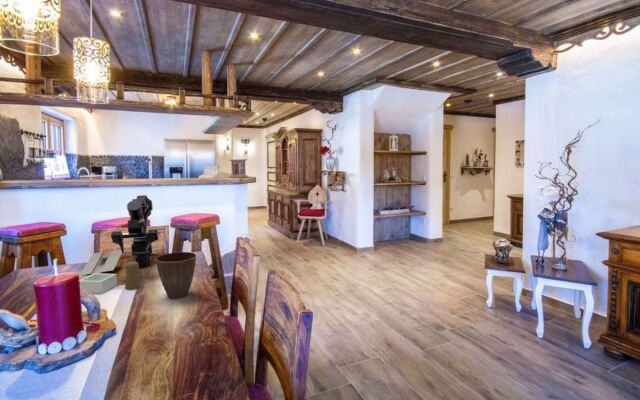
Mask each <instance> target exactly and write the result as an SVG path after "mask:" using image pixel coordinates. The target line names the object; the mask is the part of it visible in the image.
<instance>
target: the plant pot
mask: <svg viewBox="0 0 640 400" xmlns="http://www.w3.org/2000/svg"><path fill="white" fill-rule="evenodd" d="M196 260H197V254H196V253H194V252H188V251H178V252H177V251H175V252H170V253H164V254H160V255H159V256H157V257H156V258H155V264H156V268H157V273H158V276H159V278H160V281H161V284H162V287H163V290H164V292H165V293H166V295H167V297H168V298H169V299H172V300H176V299H177V300H179V299H182V298H185V297H187V296H188V295H189V292H190V289H191V286H192V283H193V278H194V275H195V271H196V270H195V269H196V263H197V261H196Z"/></svg>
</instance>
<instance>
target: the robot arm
mask: <svg viewBox="0 0 640 400" xmlns="http://www.w3.org/2000/svg"><path fill="white" fill-rule="evenodd" d="M126 208H127V211H128V215H129V220H127V232H128V233H123V231H122V230H119V231H118V230H116V231H114V230H113V231H112V232H111V234H110V237H111V240H112V243H113V244H115V245H119V248H120V250H121V251H122V254H124V251H125V250H124V249H125V248H124V245H125V244H124V239H132V243H131V248H130V249H131V256H134V257H133V261H135V262H138V264H139V268H138V269H140V268H146V267H150V266H152V264H151V260H150V255H151V254H153V245H152V244H153V243H155V242H156V241H158V240H159V232H158V229H156V228H155V229H154V228H153V229H148V221H149V220H148V218H149V217H150V216H151V215H152V211H153V210H154V209H153V201H152V200H151V199H150V198H149V197H148V195H146V194H145V195H143V194H142V195H137V196H136V198H132V200H130V201H129V202H128V203H126Z"/></svg>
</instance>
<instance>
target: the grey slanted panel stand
mask: <svg viewBox="0 0 640 400" xmlns="http://www.w3.org/2000/svg"><path fill="white" fill-rule="evenodd" d="M122 254H123V253H122V251H121V249H116V250H115V249H114V250H111V251H110V252H108V253H105V252H104V251H101V252H99V251H98V252H93V254H92V255H91V256H90V258H89V260H88V261H87V262H86V264H85V266H84V267H83V268H82V270H81V271H80V273H79V276H85V275H92V274H94V273H98V274H102V273H105V272H110V271H114V269H115V268H116V266H117V264H118V262H119V259H120V258H121V255H122Z"/></svg>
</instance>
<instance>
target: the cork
mask: <svg viewBox="0 0 640 400" xmlns="http://www.w3.org/2000/svg"><path fill="white" fill-rule="evenodd" d="M124 269H125V271H126V273H125V284H124V289H125V290H126V291H127V290H128V291H129V290H130V291H131V290H137V289H140V288H141V287H142V286H141V285H142V284H141V280H140V275H139V271H138V269H140V268H139V264H138V262H135V261H134V260H133V261H128V262H125V264H124Z"/></svg>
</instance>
